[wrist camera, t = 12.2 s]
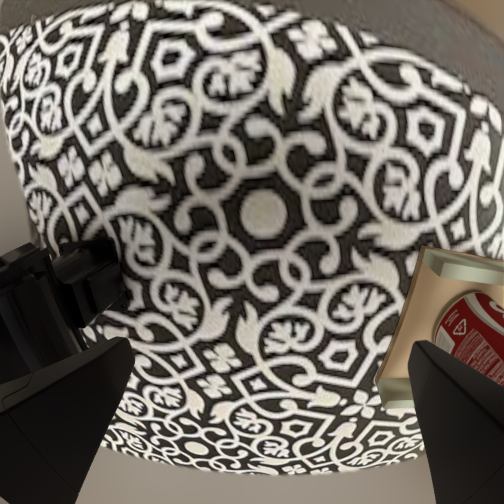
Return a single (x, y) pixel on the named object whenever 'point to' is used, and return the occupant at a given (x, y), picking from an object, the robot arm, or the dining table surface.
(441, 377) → the robot arm
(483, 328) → the soda can
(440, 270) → the dock
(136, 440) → the dining table surface
